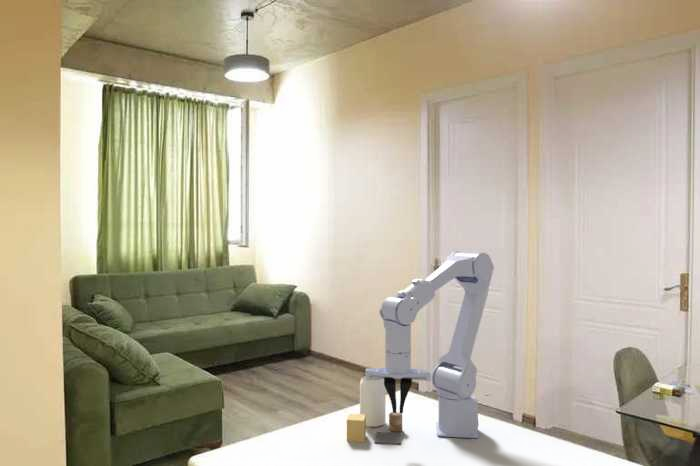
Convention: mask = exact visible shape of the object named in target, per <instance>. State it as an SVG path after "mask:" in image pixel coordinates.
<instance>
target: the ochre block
mask: <svg viewBox="0 0 700 466" xmlns="http://www.w3.org/2000/svg"><path fill="white" fill-rule="evenodd" d="M366 430H367V427H366V415H362V414H360V413H359V414H358V413H348V415H347V419H346V442H358V443H359V442H360V443H365V438H366V435H367V434H366V433H367V431H366Z"/></svg>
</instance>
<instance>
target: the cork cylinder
mask: <svg viewBox="0 0 700 466" xmlns="http://www.w3.org/2000/svg"><path fill="white" fill-rule="evenodd" d="M388 432H395V433H401V434H402V433H403V413H400V412H397V411H396V413H393V411H392V412H390V413H389V414H388Z"/></svg>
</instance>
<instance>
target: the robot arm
mask: <svg viewBox="0 0 700 466" xmlns="http://www.w3.org/2000/svg"><path fill="white" fill-rule="evenodd" d="M494 269H495V266H494V264H493V261H492V259H491V257H490V255H489V254H488V253H486V252H466V251H464V252H461V251H454V252H452V253H451V254H450V255H448V256H447V257H446V258H445V261H444V263H443V264H442V265H440V266H439V267H438V268H437V269H436V270H435V271H434V272H433V273H431V274H430V275H429V276H427V278H426V279H425V278H424V279H423V278H415V279H413V280H412V281H411V284H410V285H408V286H407V287H406V288H405V289H403V290H400V291H398V292H397V295H396V296H389V297H386V299H385V300H384V301H383V303H382V304H381V307H380V309H379V311H378V312H379V314H380V315H379V316H380V317H381V319H382V320H383V327H384V331H385V332H384V335H385V338H384V341H385V342H384V346H385V347H384V348H385V349H384V355H385V356H384V357H385V360H384V363H385V366H384V367H376V368H374V367H373V368H365V373H364V374H365V379H370V378H372V379H384V386H385V391H386V392H387V394H388V397H389V400H390V403H391V408H392V412H393V413H396V412H397V395H396V394H397V393H396V392H397V391H396V389H397V380H399V381H400V382H399V385H400V386H399V387H400V390H399V391H400V395H399V397H400V401H399V402H400V403H399V413H401V414H403V413H404V405H405V403H406V400H407V397H408V394H409V392H410V389H411V387H412V384H413V383H412V382H413V381H426V382H432V383H431V384H432V386H433V387H434V388H436V390H435V391H436V393H437V394H438V421H437V422H436V435H437V436H438V437H447V438H449V437H450V438H467V439H478V438H479V407H478V406H479V404H478V397H477V396H476V395H473V394H474V392H475V389H476V387H477V373H478V368H477V366H476V365H475V364H474V362H473V361H472V359H471V357H472V354H473V352H474V351H473V350H474V347H475V342H476V338H477V336H478V331H479V328H480V324H481V320H482V316H483V313H484V310H485V306H486V302H487V298H488V294H489V287H490V284H491V281H492V276H493V274H494ZM453 279H455V280H456V282H457V283H458V284H459V285H460V286H461V287H462V289H463V291H464V295H463V299H462V303H461V307H460V310H459V314H458V317H457V319H456V324H455V327H454V332H453V335H452V338H451V342H450V346H449V350H448V352H446V353H445V354H443V355H441V356H440V357H439V358H438V362H437V364H436V366H435V367H434V368H433V370H432V372H431V370H427V369H417V368H416V369H415V368H412V355H411V354H412V349H411V348H412V339H411V337H412V336H411V335H412V333H411V332H412V331H411V330H412V323H414V322H415V320H416V318H417V315H418V313H419V312H420V310H421V309H423V308H424V307H425V306H426V305H427V304H429V303H430V302H431V301H432V300H434V298H435V296H436V291H437V290H440V288H442V287H443V286H445V285H447V284H448V283H449V282H450V281H451V282H452V280H453ZM457 367H458V368H457Z"/></svg>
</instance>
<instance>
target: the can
mask: <svg viewBox="0 0 700 466" xmlns="http://www.w3.org/2000/svg"><path fill="white" fill-rule="evenodd" d="M386 399H387V398H386V388H385V386H384V379H372V378H370V379H365V373H363V374H362V375H361V379H360V382H359V414H362V415H366V428H380V427H383V426H384V425H385V424H386Z"/></svg>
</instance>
